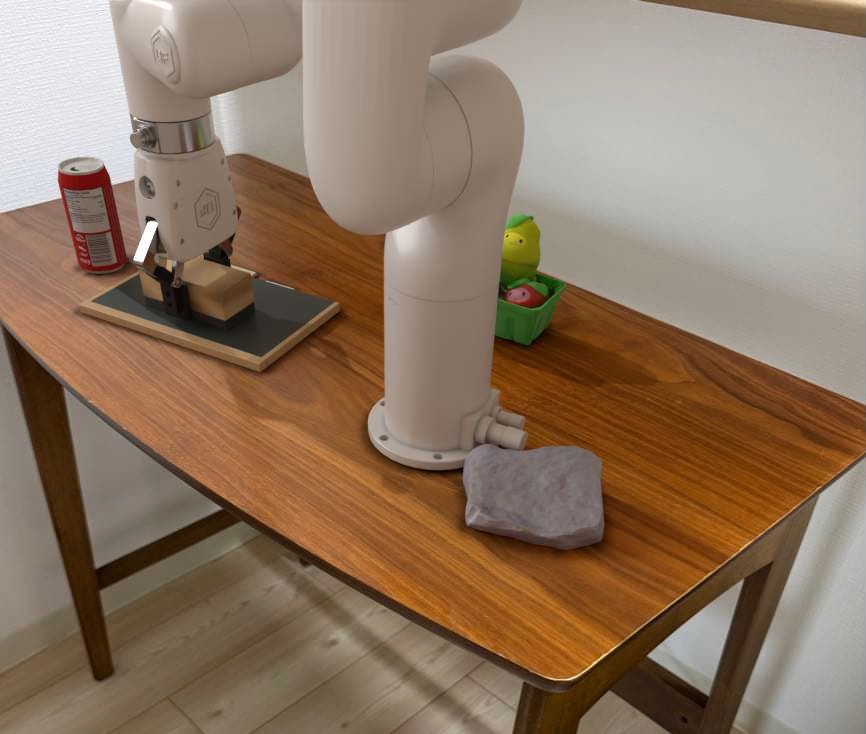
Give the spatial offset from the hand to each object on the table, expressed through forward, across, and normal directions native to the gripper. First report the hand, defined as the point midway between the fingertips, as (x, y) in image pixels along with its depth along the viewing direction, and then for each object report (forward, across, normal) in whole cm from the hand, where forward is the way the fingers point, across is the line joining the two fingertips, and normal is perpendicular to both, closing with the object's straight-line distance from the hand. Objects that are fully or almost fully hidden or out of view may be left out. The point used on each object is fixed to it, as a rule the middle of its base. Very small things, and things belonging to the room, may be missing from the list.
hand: (200, 301), depth 98 cm
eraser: (+1, 0, 0) cm, 1 cm away
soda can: (+2, +4, +18) cm, 19 cm away
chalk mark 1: (+2, +11, +3) cm, 11 cm away
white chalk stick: (+2, +10, -3) cm, 10 cm away
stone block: (+2, -12, -45) cm, 46 cm away
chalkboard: (+2, +2, 0) cm, 2 cm away
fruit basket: (+2, +16, -29) cm, 33 cm away
